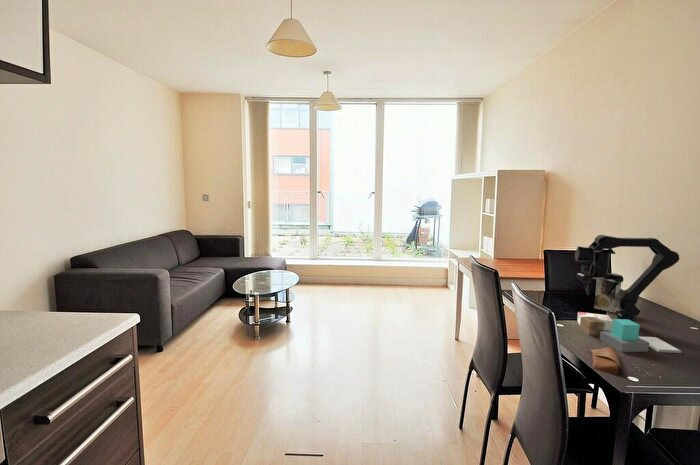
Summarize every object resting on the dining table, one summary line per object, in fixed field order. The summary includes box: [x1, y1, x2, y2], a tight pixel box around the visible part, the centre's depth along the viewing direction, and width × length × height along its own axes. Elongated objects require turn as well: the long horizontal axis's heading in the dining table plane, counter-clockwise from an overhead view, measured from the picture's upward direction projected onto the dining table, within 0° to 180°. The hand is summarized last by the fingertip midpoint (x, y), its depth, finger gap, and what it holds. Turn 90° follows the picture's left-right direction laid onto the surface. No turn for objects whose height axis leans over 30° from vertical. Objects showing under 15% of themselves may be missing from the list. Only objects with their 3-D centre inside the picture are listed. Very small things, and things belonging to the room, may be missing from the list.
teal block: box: [612, 318, 640, 340], centre depth 144 cm, size 6×6×6 cm
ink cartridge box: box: [577, 311, 613, 331], centre depth 163 cm, size 9×5×15 cm
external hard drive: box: [638, 335, 682, 354], centre depth 145 cm, size 2×8×12 cm
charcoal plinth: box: [599, 330, 650, 353], centre depth 144 cm, size 11×11×4 cm
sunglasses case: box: [588, 345, 623, 376], centre depth 130 cm, size 18×7×7 cm
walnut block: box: [579, 317, 604, 336], centre depth 156 cm, size 6×6×6 cm
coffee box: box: [593, 277, 622, 314], centre depth 186 cm, size 9×6×16 cm
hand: (597, 295), depth 169 cm, fingers open, 9 cm apart
